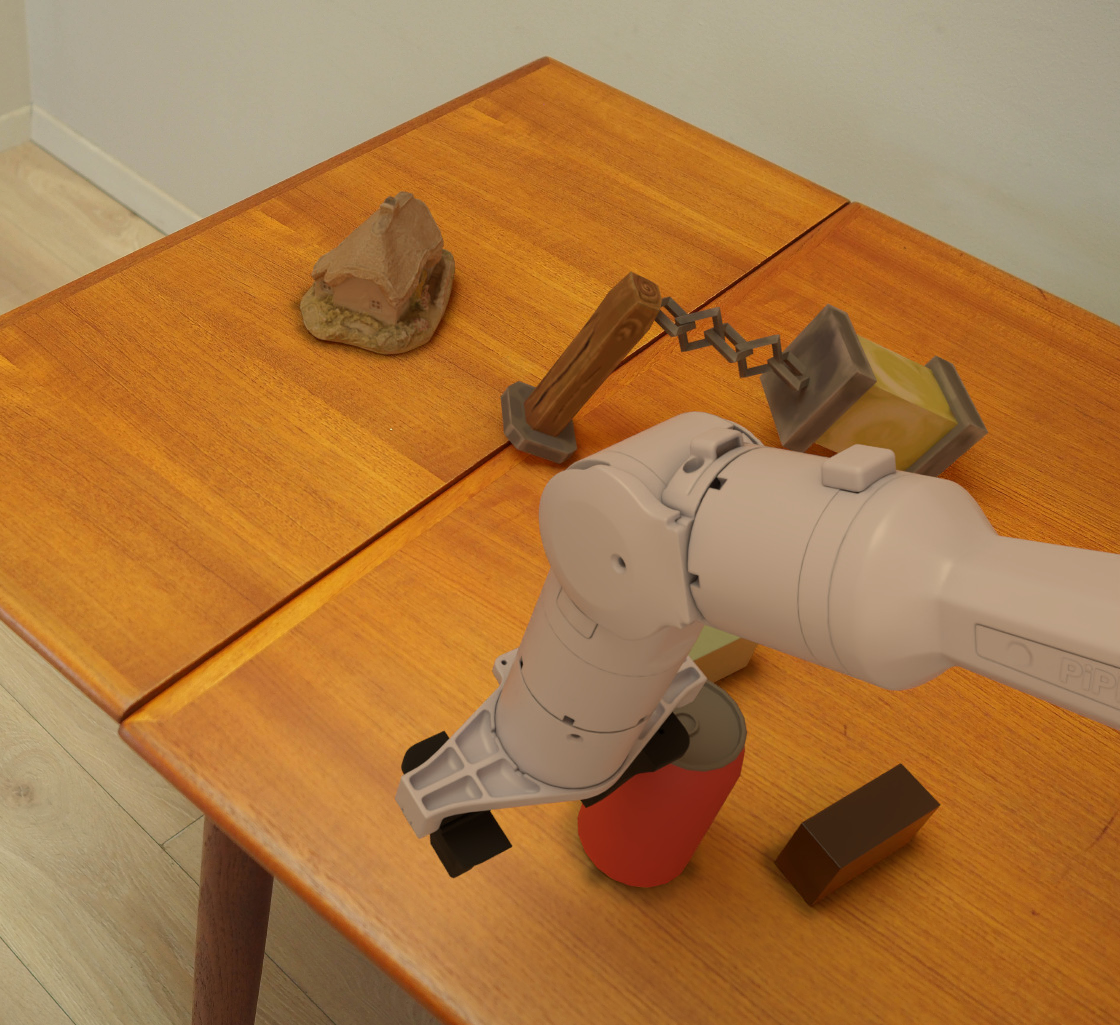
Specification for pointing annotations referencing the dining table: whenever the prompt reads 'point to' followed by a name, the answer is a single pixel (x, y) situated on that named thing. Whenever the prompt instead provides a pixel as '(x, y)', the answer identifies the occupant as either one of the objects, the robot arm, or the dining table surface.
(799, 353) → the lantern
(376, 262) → the ceramic model
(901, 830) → the walnut block
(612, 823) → the beer can
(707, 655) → the ceramic block
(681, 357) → the dining table surface
